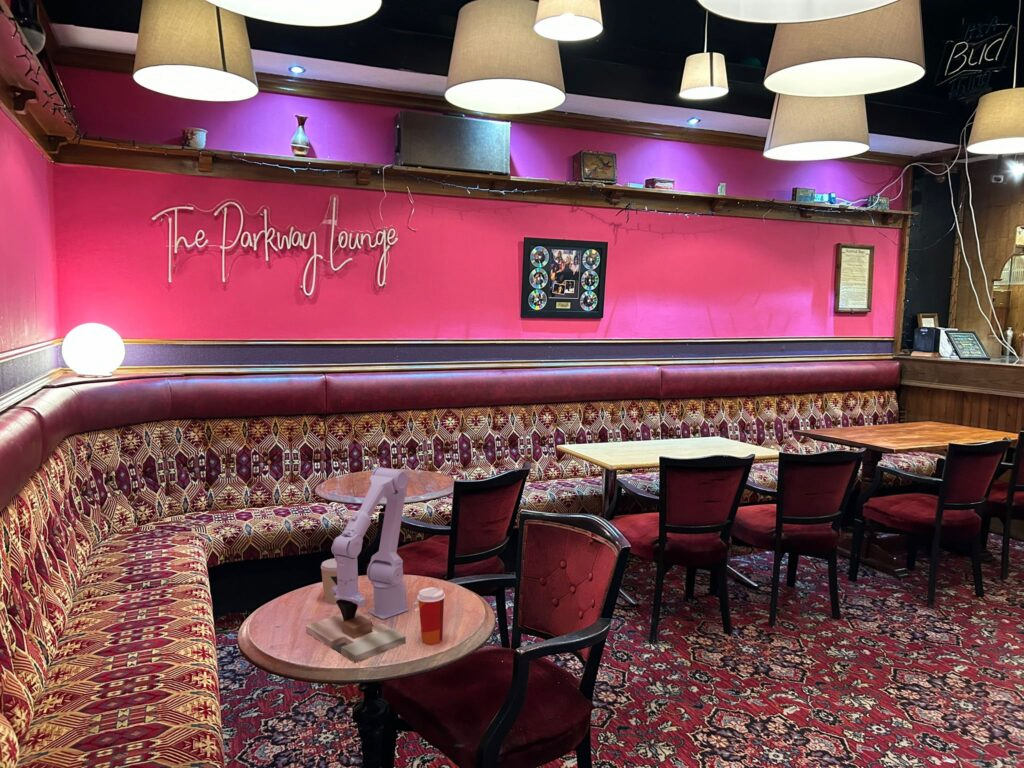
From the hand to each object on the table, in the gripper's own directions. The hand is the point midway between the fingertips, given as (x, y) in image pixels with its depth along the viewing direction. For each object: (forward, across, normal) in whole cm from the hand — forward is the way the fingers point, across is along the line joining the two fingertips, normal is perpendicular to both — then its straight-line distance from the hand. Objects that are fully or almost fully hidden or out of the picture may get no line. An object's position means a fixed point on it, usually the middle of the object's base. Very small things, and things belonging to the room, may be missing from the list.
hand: (349, 624), depth 205 cm
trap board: (+3, +3, 0) cm, 4 cm away
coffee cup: (+3, -25, +11) cm, 28 cm away
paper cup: (+3, +20, +14) cm, 25 cm away
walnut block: (+1, +4, 0) cm, 4 cm away
